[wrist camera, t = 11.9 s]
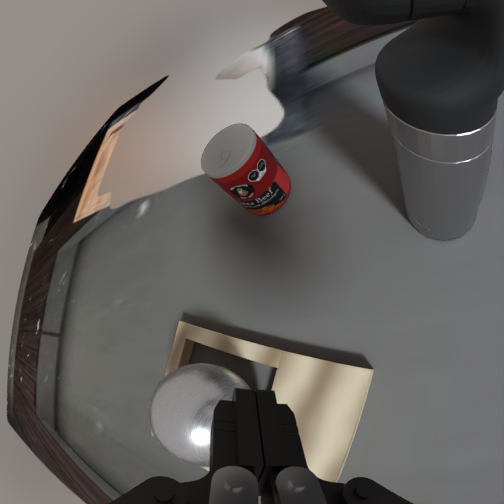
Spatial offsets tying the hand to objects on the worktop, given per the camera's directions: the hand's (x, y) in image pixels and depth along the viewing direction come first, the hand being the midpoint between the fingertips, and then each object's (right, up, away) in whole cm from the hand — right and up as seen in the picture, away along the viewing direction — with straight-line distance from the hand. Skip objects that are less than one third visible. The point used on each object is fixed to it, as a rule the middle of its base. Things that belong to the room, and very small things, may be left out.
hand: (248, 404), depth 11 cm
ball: (-5, -12, +18) cm, 22 cm away
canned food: (+3, +14, +33) cm, 36 cm away
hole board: (0, -14, +22) cm, 26 cm away
